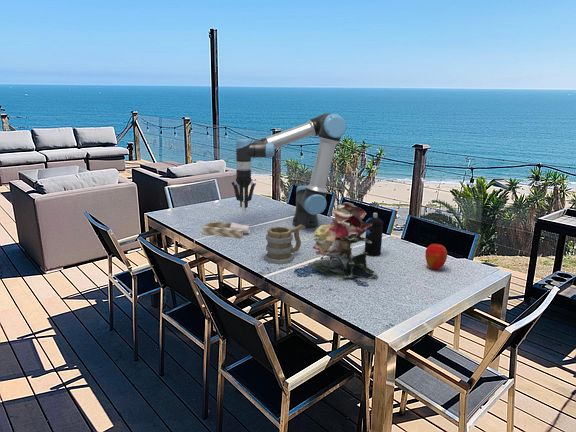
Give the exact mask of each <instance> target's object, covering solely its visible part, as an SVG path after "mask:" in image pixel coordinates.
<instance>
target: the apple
mask: <svg viewBox="0 0 576 432" xmlns="http://www.w3.org/2000/svg"><path fill="white" fill-rule="evenodd" d="M447 258H448V250H447V249H446V246H444V245H442V244H439V243H431V244H430V245H428V246H427V247H426V249H425V261H426V264H427V267H428V268H429V269H430V270H433V271H436V270H439V269H441V268H443V267H444V265H445V263H446V262H447Z"/></svg>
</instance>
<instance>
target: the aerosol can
mask: <svg viewBox="0 0 576 432" xmlns="http://www.w3.org/2000/svg"><path fill="white" fill-rule="evenodd" d="M365 223H371V224H372V226H369V227H368V228H367V229H366V231H365V236H364V238H367V239H368V240H370V241H371V242H372V243H368V242H365V241H364V251H363V253H367V254H366V256H368V257H380V256H381V255H382V241H383V240H382V239H383V228H384V221H383V220H382V219H381V218H379V217H378V212H373V213H372V217H369V218H368V219H367V220H365ZM368 232H371V233H368Z"/></svg>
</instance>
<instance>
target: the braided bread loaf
mask: <svg viewBox="0 0 576 432" xmlns="http://www.w3.org/2000/svg"><path fill="white" fill-rule="evenodd" d="M231 223H232V222H221V221H214V220H213V221H211V222H209V223H207V224H206V225H204V226H202V235H206V236H215V237H224V238H226V237H227V238H234V239H243V237H244V233H243V230H238V229H228V228H230V226H231ZM241 224H242V223H241ZM242 225H246V226H250V224H244V223H243V224H242Z"/></svg>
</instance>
